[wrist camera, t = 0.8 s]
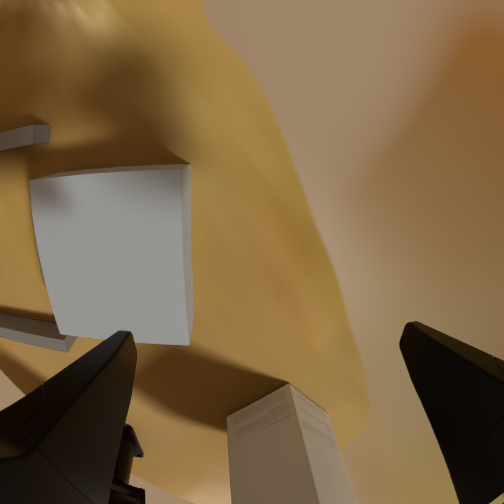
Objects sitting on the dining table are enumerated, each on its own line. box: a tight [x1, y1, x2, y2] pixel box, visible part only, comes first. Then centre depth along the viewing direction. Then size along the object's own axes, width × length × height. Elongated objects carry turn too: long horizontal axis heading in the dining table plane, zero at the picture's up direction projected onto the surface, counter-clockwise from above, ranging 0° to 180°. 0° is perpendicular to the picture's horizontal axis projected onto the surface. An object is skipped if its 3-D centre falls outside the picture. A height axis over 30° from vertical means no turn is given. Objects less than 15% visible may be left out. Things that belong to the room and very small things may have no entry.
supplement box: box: [227, 383, 358, 504], centre depth 19 cm, size 7×7×13 cm
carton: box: [29, 164, 194, 345], centre depth 16 cm, size 10×9×4 cm
